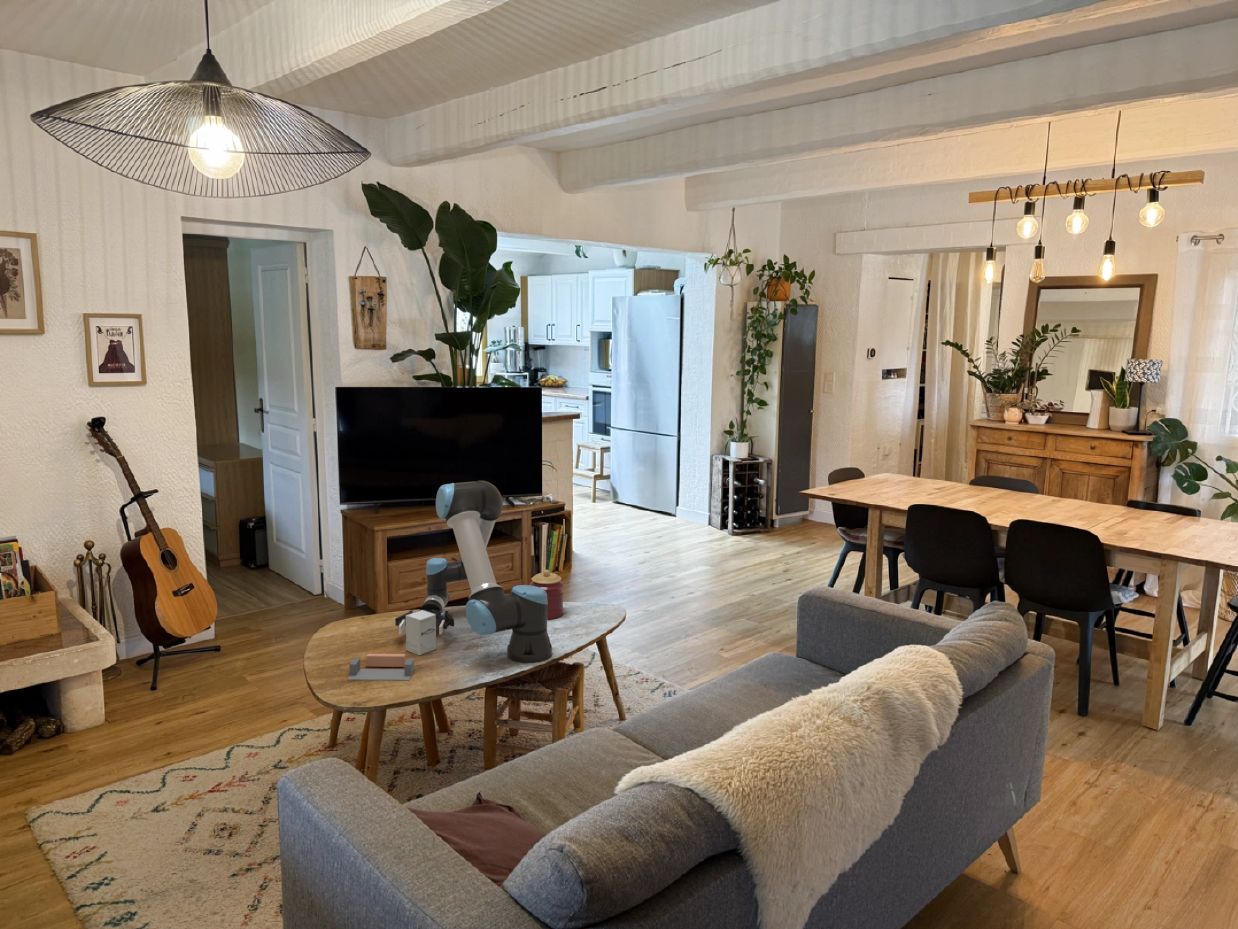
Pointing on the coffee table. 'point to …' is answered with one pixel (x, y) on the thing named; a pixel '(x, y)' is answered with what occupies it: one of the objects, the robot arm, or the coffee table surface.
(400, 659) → the pink eraser brick
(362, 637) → the coffee table surface
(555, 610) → the canister
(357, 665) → the housing
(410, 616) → the supplement box
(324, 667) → the coffee table surface
